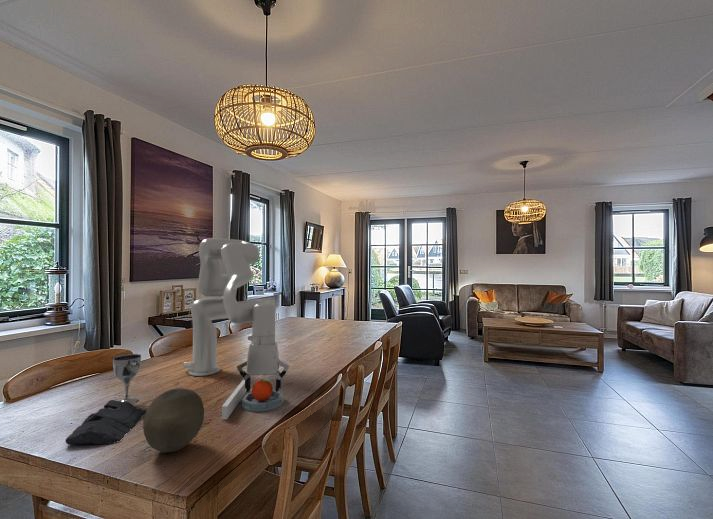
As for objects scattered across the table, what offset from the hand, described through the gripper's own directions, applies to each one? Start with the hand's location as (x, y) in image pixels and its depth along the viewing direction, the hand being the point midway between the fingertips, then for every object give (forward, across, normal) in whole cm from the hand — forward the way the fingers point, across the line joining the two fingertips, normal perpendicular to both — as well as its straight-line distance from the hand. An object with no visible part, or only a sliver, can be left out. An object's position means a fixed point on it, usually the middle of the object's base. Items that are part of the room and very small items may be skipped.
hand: (263, 390), depth 118 cm
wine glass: (+4, -46, +3) cm, 46 cm away
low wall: (+4, -9, 0) cm, 10 cm away
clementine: (+4, 0, 0) cm, 4 cm away
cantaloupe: (+4, -16, -29) cm, 33 cm away
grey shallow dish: (+4, 0, 0) cm, 4 cm away
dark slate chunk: (+5, -41, -16) cm, 44 cm away
